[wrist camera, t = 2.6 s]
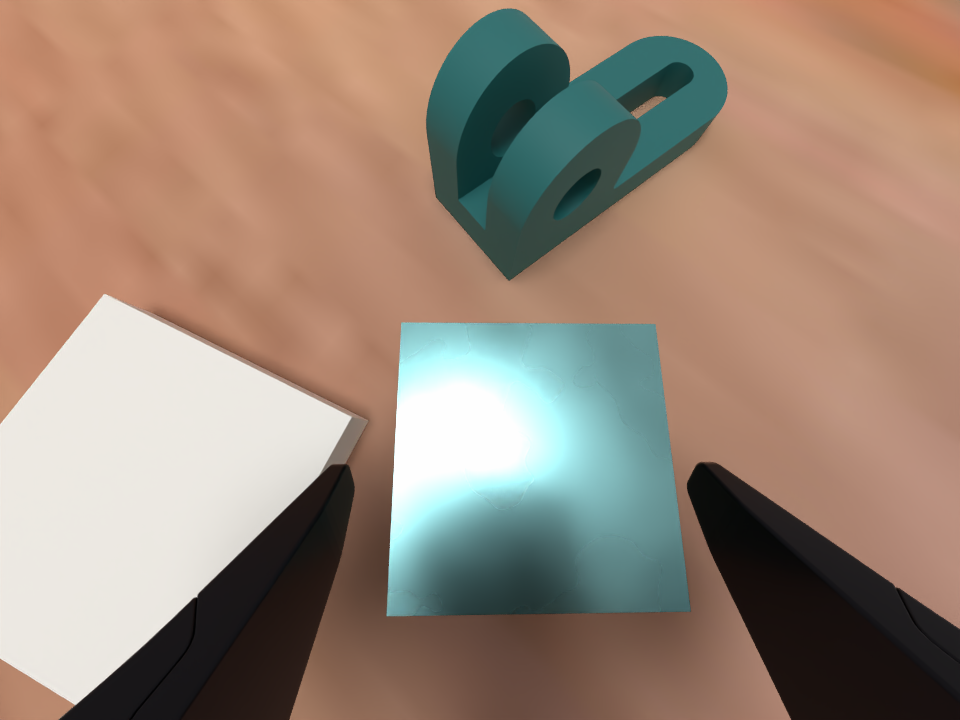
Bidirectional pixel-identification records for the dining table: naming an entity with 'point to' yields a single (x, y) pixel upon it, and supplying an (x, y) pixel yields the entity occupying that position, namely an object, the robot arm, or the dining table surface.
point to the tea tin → (533, 473)
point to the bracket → (556, 131)
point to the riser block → (140, 486)
